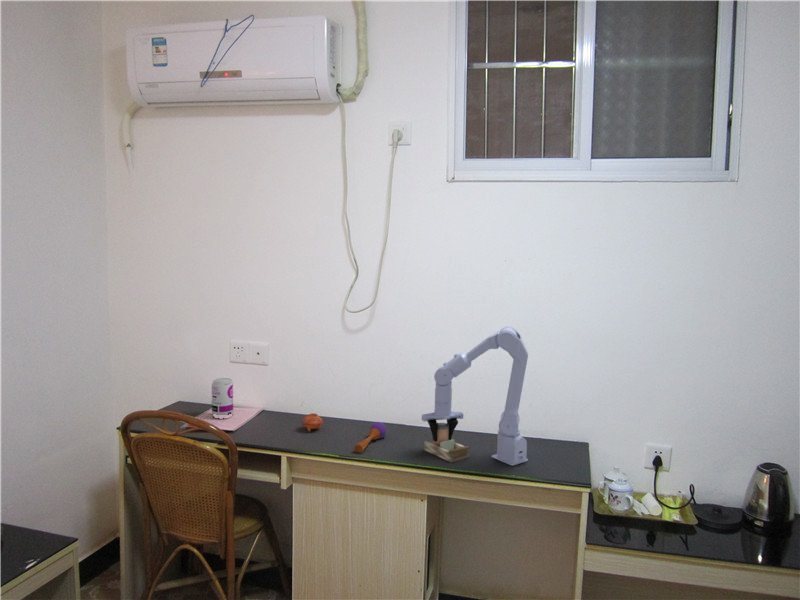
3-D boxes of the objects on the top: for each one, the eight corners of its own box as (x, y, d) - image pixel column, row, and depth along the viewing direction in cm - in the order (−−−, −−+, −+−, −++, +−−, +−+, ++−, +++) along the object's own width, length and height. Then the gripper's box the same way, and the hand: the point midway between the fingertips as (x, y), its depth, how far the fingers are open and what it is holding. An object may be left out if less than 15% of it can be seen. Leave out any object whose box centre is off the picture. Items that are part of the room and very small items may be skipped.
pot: (296, 429, 220) (299, 411, 220) (311, 429, 225) (314, 412, 226) (309, 433, 214) (312, 415, 215) (325, 434, 220) (328, 416, 221)
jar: (446, 441, 204) (446, 422, 203) (450, 446, 199) (451, 426, 198) (432, 442, 203) (433, 423, 202) (436, 447, 198) (437, 427, 197)
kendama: (349, 441, 198) (372, 420, 217) (352, 457, 199) (375, 435, 217) (364, 440, 196) (387, 419, 215) (368, 457, 197) (390, 434, 215)
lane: (469, 457, 196) (469, 446, 196) (451, 462, 191) (451, 451, 191) (442, 445, 207) (442, 435, 207) (424, 449, 202) (424, 439, 202)
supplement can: (236, 414, 238) (236, 378, 236) (228, 420, 230) (228, 383, 228) (217, 413, 239) (216, 377, 237) (208, 419, 230) (208, 382, 229)
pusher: (454, 449, 200) (454, 439, 200) (441, 452, 197) (441, 443, 196) (452, 448, 201) (452, 439, 201) (439, 451, 198) (440, 442, 197)
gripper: (426, 405, 193) (425, 445, 195) (467, 403, 197) (465, 442, 199) (420, 400, 200) (419, 438, 202) (459, 397, 204) (458, 435, 206)
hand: (441, 440), depth 201 cm, fingers closed on jar, 5 cm apart
